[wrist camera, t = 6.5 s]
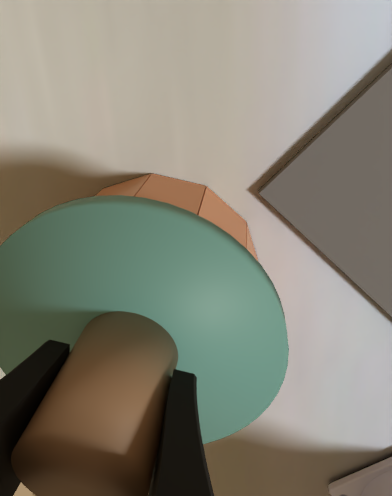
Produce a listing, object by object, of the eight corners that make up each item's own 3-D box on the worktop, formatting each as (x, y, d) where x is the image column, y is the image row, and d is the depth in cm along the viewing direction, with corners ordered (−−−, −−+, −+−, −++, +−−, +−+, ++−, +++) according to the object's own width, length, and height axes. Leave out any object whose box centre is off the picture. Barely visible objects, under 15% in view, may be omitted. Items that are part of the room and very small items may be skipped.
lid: (351, 352, 12) (408, 521, 8) (148, 459, 16) (113, 605, 12) (113, 116, 9) (-2, 173, 5) (-55, 317, 13) (-195, 442, 9)
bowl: (297, 267, 16) (311, 328, 12) (175, 362, 19) (160, 430, 16) (146, 132, 14) (113, 159, 10) (42, 265, 18) (-9, 319, 14)
